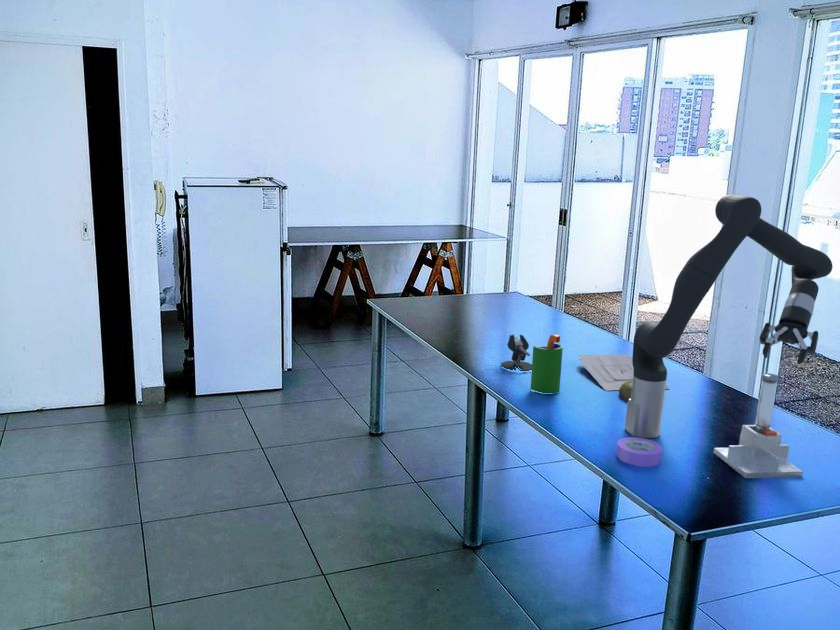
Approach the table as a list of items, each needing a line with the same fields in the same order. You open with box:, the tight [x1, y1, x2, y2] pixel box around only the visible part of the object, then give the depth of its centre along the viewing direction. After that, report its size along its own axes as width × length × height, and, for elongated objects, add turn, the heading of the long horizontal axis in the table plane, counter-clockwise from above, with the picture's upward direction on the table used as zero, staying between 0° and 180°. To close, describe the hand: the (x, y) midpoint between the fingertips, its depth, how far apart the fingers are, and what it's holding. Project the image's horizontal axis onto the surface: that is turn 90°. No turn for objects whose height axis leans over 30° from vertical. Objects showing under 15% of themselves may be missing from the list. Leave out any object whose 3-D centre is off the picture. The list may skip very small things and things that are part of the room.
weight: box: [618, 380, 633, 402], centre depth 253 cm, size 14×13×5 cm
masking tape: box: [615, 436, 663, 468], centre depth 205 cm, size 12×12×4 cm
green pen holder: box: [530, 333, 564, 394], centre depth 255 cm, size 10×9×20 cm
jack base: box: [713, 424, 804, 479], centre depth 203 cm, size 17×17×11 cm
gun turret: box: [500, 333, 532, 371], centre depth 276 cm, size 13×20×13 cm, turn 13°
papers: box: [577, 354, 670, 391], centre depth 275 cm, size 24×30×4 cm
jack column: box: [754, 372, 780, 434], centre depth 201 cm, size 4×4×23 cm
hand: (782, 359), depth 208 cm, fingers open, 8 cm apart
